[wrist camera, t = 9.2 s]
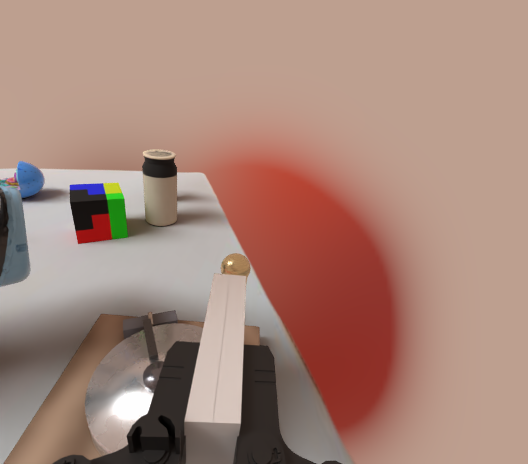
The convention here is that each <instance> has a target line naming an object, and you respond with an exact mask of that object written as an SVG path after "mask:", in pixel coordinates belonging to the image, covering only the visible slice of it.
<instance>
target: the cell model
mask: <svg viewBox="0 0 528 464" xmlns="http://www.w3.org/2000/svg"><path fill="white" fill-rule="evenodd" d="M44 182H45V178H44V175H43V173H42V172H41V171H40V170H39V169H38V168H37V167H35V166H34V165H32V164H29V163H27V162H23V161H20V162H19V163H18V166H17V170H16V173H15V174H14V177H13V178H5V179H0V186H5V187H13V188H16V189H18V190H19V191H20V193H21V198H25V197H30V196H32V195H35V194H36V193H38V192H39V191H40V190H41V189H42V187H43V185H44Z"/></svg>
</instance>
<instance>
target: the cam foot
mask: <svg viewBox="0 0 528 464" xmlns="http://www.w3.org/2000/svg"><path fill="white" fill-rule="evenodd" d="M221 273H222V274H228V275H240V276H246V282H247V277H248V275H249V273H250V263H249V261H248V259H247V258H246V257H245V256H243V255H241V254H237V253H234V254H230V255H228V256H227V257H226V258H225V259H224V260H223V262H222V264H221ZM143 327H144V330H142V331H139V332H137V333H135V334H133V335H131V336H130V337H128V338H126V339H125V340H123V341H122V342H120V343H119V344H118V345H116V346H115V347H114V348H113V349H112V350H111V351H110V352H109V353H108V354H107V355H106V356H105V357H104V358H103V359H102V361H101V362H100V364H99V365H98V366H97V368H96V370H95V371H94V373H93V375H92V377H91V379H90V382H89V384H88V388H87V392H86V398H85V414H86V418H87V422H88V426H89V430H90V433H91V437H92V440H93V443H94V445H95V447H96V449H97V450H98V452H99V453H100V455H101V456H104V455H107V454H110V453H113V452H116V451H118V450H120V449H122V448H124V447H125V446H127V445H128V441H127V434H128V432H129V430H130V429H131V427H132V425H133V424H134V423H135V422H136V421H137V420H138V419H139V418H140V417H142V416H143V415H145V414H147V413H148V410H149V407H150V404H151V401H152V397H153V394H154V391H155V388H156V385H157V382H158V380H159V375H160V372H161V369H162V367H163V363H164V360H165V357H166V353H167V351H168V350H169V349H170V348H171V347H172V345H173V344H174V343H175V342H176V341H184V342H201V337H202V332H203V328H201V327H198V326H195V325H190V324H181V323H171V324H163V325H158V326H154V327H152V323H151V319H145V320H143Z"/></svg>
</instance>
